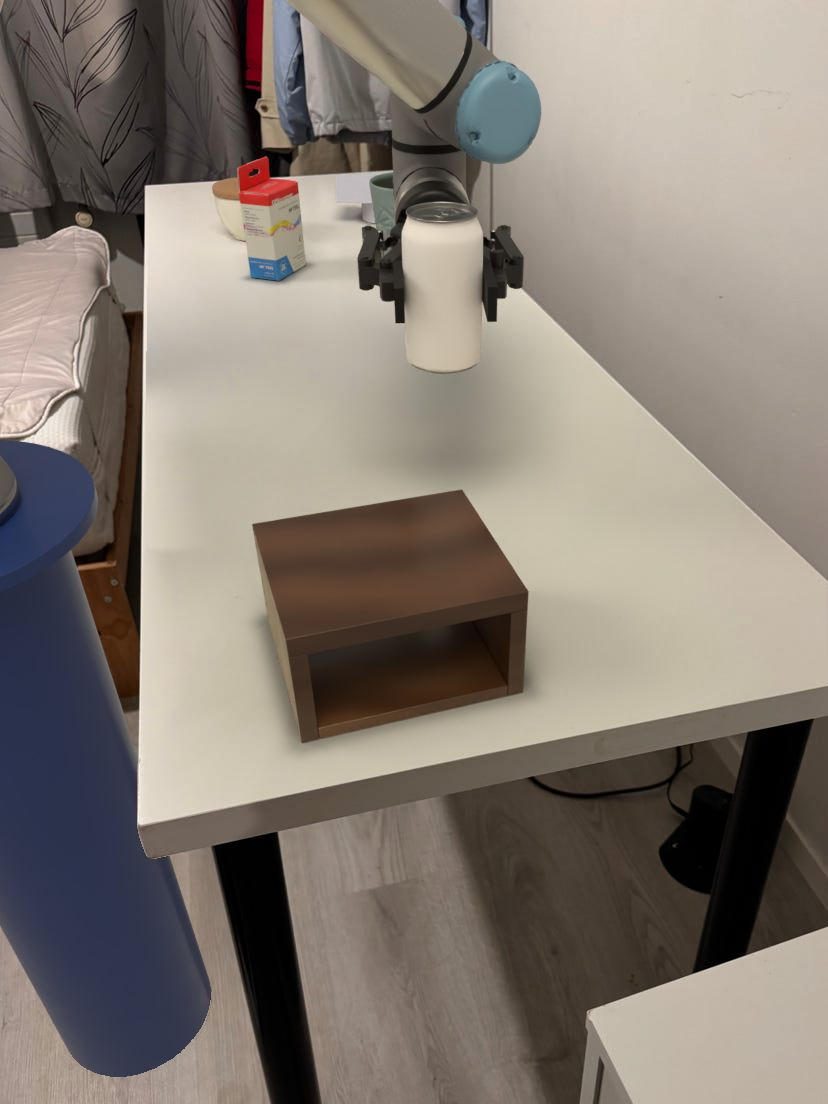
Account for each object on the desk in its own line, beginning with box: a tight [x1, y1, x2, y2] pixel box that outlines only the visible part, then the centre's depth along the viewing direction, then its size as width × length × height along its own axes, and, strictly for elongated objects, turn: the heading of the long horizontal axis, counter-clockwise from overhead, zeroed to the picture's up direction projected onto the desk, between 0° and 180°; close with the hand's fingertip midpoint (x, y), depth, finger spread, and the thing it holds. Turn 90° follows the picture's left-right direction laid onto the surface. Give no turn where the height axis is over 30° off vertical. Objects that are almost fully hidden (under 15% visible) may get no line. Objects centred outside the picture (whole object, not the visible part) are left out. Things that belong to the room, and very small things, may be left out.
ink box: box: [236, 155, 307, 282], centre depth 133 cm, size 8×5×15 cm, turn 160°
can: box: [402, 202, 484, 375], centre depth 76 cm, size 6×6×12 cm
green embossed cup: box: [369, 171, 395, 256], centre depth 137 cm, size 10×10×12 cm
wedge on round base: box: [334, 174, 377, 224], centre depth 159 cm, size 9×7×13 cm
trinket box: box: [211, 175, 272, 242], centre depth 148 cm, size 11×11×9 cm
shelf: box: [251, 488, 529, 744], centre depth 67 cm, size 14×16×9 cm
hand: (446, 305), depth 71 cm, fingers closed on can, 6 cm apart
